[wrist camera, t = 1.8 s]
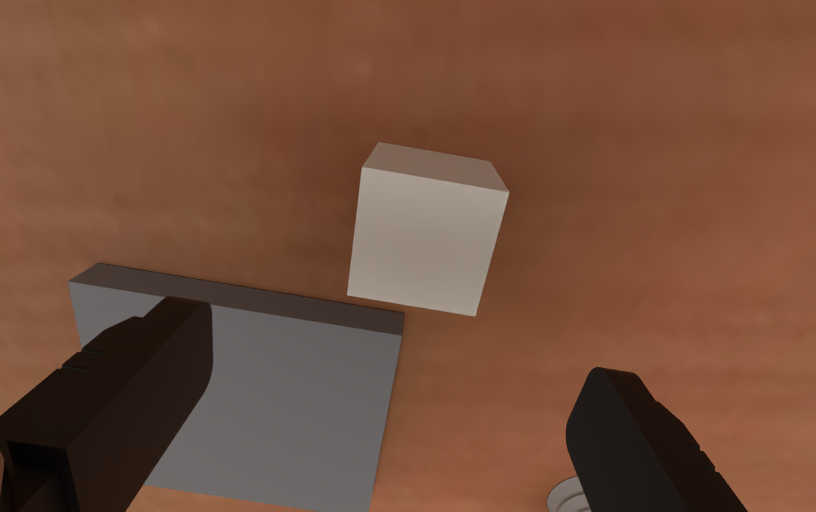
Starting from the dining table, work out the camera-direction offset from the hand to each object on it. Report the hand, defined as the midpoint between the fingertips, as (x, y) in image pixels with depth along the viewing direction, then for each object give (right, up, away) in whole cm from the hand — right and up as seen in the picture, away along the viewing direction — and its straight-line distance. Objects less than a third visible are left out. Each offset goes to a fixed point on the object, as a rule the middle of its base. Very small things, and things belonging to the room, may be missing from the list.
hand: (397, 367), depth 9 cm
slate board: (-9, -6, +16) cm, 19 cm away
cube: (+1, +5, +11) cm, 12 cm away
